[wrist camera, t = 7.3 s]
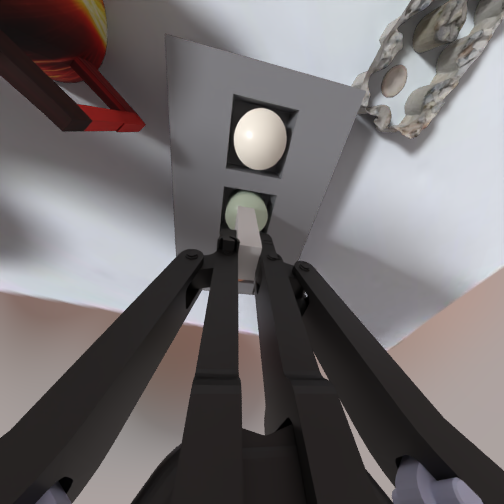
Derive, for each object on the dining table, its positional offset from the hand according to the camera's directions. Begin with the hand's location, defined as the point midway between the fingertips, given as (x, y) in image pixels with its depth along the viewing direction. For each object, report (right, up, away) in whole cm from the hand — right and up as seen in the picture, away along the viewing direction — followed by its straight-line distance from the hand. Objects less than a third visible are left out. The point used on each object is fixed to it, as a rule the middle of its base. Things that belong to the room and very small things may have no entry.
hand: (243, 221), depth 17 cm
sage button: (0, +2, +4) cm, 4 cm away
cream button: (+1, +8, 0) cm, 8 cm away
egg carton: (+15, +15, -1) cm, 21 cm away
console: (0, +3, +5) cm, 7 cm away
